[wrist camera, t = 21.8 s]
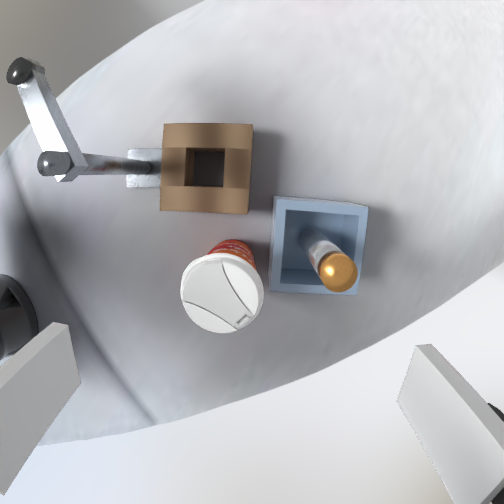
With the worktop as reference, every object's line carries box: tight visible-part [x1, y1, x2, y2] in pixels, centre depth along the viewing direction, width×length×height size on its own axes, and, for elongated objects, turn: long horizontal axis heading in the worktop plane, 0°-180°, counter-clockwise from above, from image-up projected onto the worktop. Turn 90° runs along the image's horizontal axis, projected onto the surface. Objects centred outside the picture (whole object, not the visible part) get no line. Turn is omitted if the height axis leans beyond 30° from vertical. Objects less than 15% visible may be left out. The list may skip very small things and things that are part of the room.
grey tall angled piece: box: [7, 57, 150, 182], centre depth 25 cm, size 13×2×20 cm, turn 32°
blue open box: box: [268, 196, 369, 295], centre depth 36 cm, size 10×10×7 cm
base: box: [127, 148, 162, 187], centre depth 37 cm, size 5×5×1 cm
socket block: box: [160, 123, 253, 214], centre depth 35 cm, size 10×10×5 cm
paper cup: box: [180, 240, 264, 333], centre depth 33 cm, size 8×8×14 cm
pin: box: [299, 227, 358, 293], centre depth 31 cm, size 3×3×15 cm
